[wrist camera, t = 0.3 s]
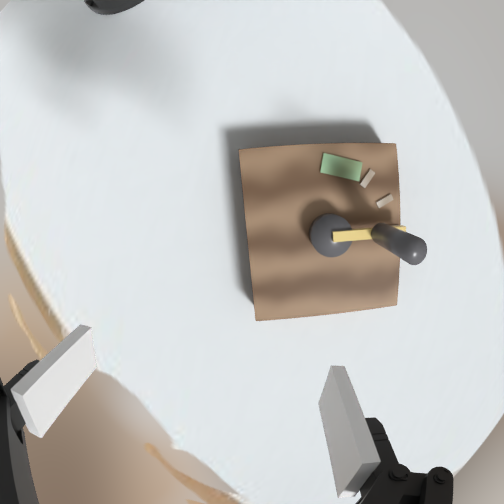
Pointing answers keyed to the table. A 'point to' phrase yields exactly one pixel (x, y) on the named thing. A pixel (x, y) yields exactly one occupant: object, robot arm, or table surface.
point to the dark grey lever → (364, 238)
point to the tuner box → (301, 217)
